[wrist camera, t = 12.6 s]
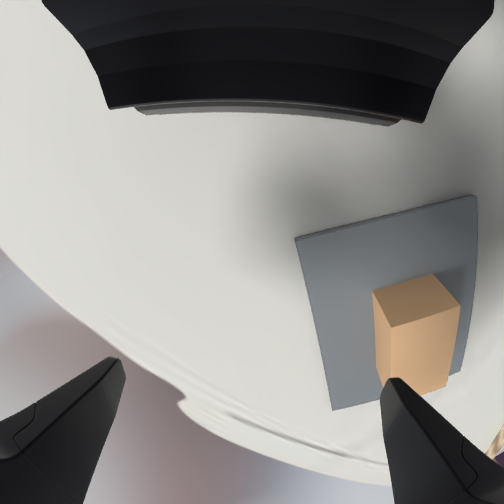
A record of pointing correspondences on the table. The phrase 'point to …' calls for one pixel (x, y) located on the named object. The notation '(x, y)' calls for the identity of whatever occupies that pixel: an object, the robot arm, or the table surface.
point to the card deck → (415, 332)
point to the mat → (383, 284)
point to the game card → (500, 459)
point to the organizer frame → (496, 445)
